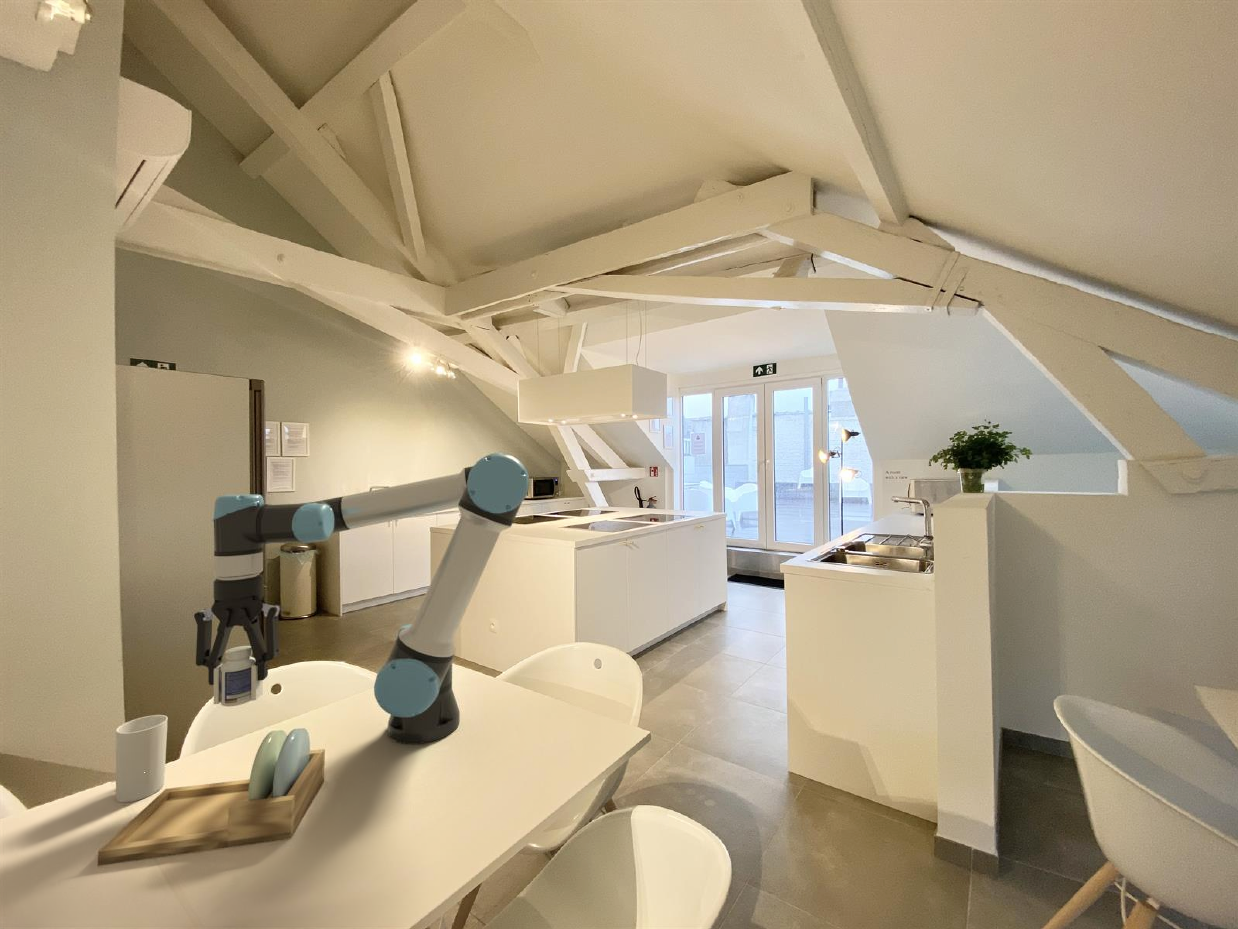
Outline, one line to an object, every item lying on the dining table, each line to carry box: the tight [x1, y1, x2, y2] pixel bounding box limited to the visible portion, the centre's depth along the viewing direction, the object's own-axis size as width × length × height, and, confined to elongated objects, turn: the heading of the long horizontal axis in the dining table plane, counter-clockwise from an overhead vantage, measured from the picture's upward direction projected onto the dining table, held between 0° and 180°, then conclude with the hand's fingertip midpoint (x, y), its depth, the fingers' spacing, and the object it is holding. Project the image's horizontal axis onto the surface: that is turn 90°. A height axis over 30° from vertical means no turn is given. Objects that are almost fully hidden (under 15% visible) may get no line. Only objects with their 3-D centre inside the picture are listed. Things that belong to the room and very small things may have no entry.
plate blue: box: [273, 727, 311, 798], centre depth 85 cm, size 1×12×12 cm, turn 13°
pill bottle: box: [220, 645, 256, 708], centre depth 95 cm, size 5×5×10 cm
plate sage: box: [248, 729, 288, 801], centre depth 85 cm, size 1×12×12 cm, turn 13°
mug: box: [115, 714, 168, 803], centre depth 92 cm, size 10×7×12 cm, turn 16°
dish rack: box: [97, 748, 326, 867], centre depth 83 cm, size 25×15×6 cm, turn 103°
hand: (238, 699), depth 95 cm, fingers closed on pill bottle, 5 cm apart
